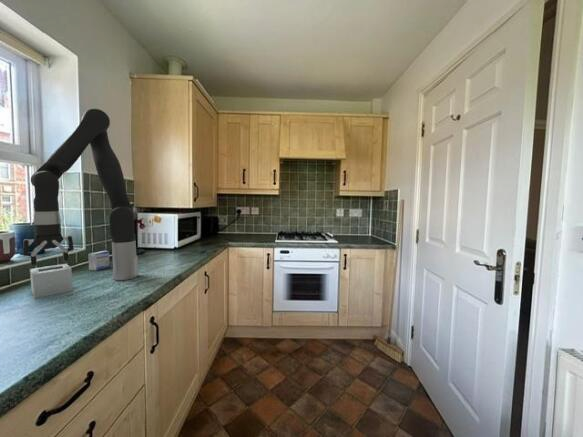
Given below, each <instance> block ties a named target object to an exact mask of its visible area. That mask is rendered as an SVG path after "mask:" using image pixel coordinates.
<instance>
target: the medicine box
mask: <svg viewBox="0 0 583 437" xmlns="http://www.w3.org/2000/svg"><path fill="white" fill-rule="evenodd" d="M87 255H88V256H87V258H88V270H89V271H99V270H103V269H107V268H109V267H110V252H109V251H108V250H101V251H96V252H91V253H88V254H87Z"/></svg>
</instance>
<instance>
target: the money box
mask: <svg viewBox="0 0 583 437" xmlns="http://www.w3.org/2000/svg"><path fill="white" fill-rule="evenodd" d="M72 272H73V271H72V267H71V266H70V265H68V263H62V264H54V265H48V266H42V267H35V268H29V274H30V288H31V293H32V296H33V298H34V299H38V298H43V297H48V296H53V295H57V294H62V293H68V292H72V291H73V290H74V288H73V287H74V286H73V273H72Z"/></svg>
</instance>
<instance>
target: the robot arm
mask: <svg viewBox="0 0 583 437" xmlns="http://www.w3.org/2000/svg"><path fill="white" fill-rule="evenodd" d="M80 120H81V121H80V122H79V124H78V126H77V127H76V128H75V130H74V131H73V132H72V133H71V134H70V135H69V136H68V137H67V139H66V140H65V141H63V142H62V143H61V144H60V145H59V147H57V148H56V150H55V151H54V152H53V153H52V154H51V155H50V156H49V158H48V159H47V160H46V161H45V162H44V163H43V164H42V165H41V166H40V167H39V168H37V170H35V172H34V173H33V174H32V175H31V176H30V183H31V185H32V186H33V187H34V196H35V197H34V198H33V228H34V238H33V239H28V238H24V239H23V243H22V244H23V249H22V250H23V252H22V254H23V256H24V257H25V256H26V257H27V256H28V257H30V263H31V265H32V266H34V267H37V266H38V262H37V256H36V255H37V254H38V253H39V252H40V251H41V250H42V249H43V250H48V249H56V248H57V247H58V249H60V250H61V251H62V261H63V263H65V262H67V261H68V260H69V252H70V251H71V252H72V251H73V250H74V242H73V236H72V235H67V236H63V235H62V227H61V226H62V225H61V224H62V223H61V222H62V219H61V215H60V208H59V207H60V205H59V192H60V178H62V176H63V174H65V173H67V172H68V171H69V170H70V169H71V168H72V167H73V165H75V164H76V162H77V160H79V158H80V157H81V156H82V155H83V153H84V151H85V150H86V148H87V147H89V146H90V149H91V154H92V158H93V162H94V166H95V170H96V173H97V175H98V176H97V177H98V180H99V181H100V183H101V185H102V187H103V190H104V191H105V193H106V194H107V196H108V198H109V201H110V207H111V212H110V213H109V217H108V218H109V220H108V221H109V233H110V234H109V235H110V238H111V252H112V253H111V254H112V275H113V276H112V277H113V280H115V281H126V280H133V279H136V278H137V277H138V276H139V258H138V256H139V255H137V247H136V243H137V242H136V239H137V238H136V234H135V232H136V231H135V219H136V214H135V211H134V209H133V206H132V204H131V201H130V199H129V196H128V193H127V186H126V181H125V176H124V172H123V169H122V166H121V163H120V161H119V158H118V157H117V155H116V153H115V152H114V150H113V148H112V147H111V144H110V140H109V135H108V129H109V128H110V125H111V120H110V117H109V116H108V114H107V113H106V112H105V111H103V110H101V109H99V108H90V109H88V110H86V111H85V112H83V114H82V117H81V119H80ZM64 240H65V242H67V245H68V247H67V248H66V247H65V246H64V245H63V244H61V243H62V242H63V241H64ZM32 243H34V244H35V245H36V246H35V247H34V249H32V251H31V252H30V251H29V246H31V245H32Z"/></svg>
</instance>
